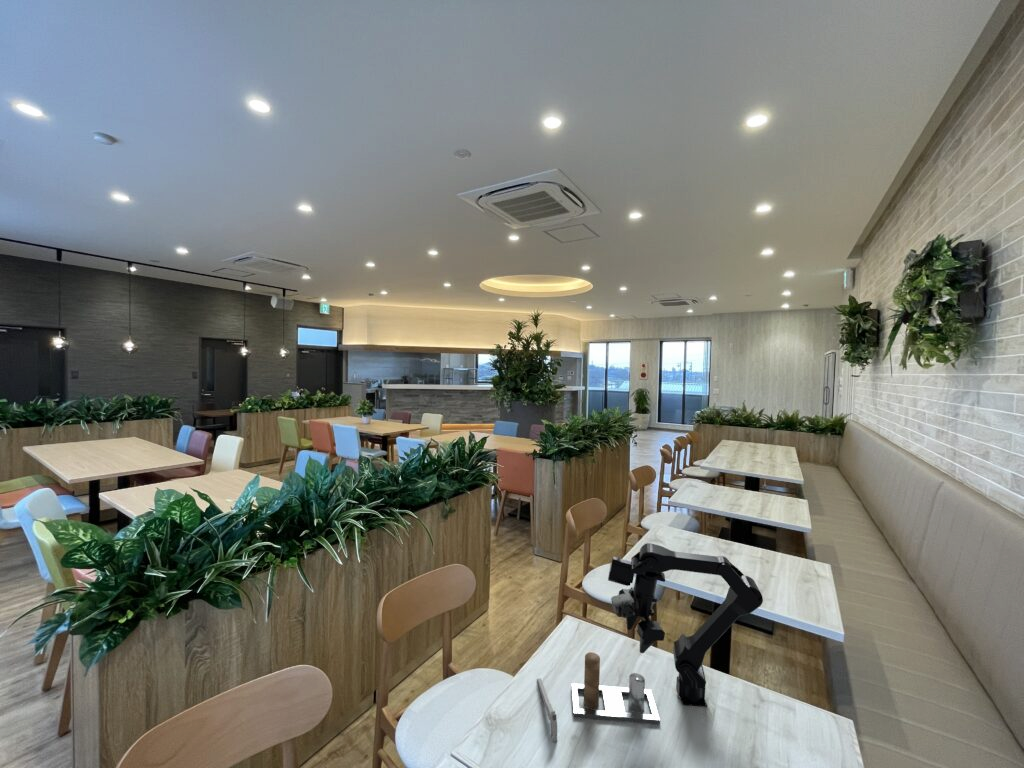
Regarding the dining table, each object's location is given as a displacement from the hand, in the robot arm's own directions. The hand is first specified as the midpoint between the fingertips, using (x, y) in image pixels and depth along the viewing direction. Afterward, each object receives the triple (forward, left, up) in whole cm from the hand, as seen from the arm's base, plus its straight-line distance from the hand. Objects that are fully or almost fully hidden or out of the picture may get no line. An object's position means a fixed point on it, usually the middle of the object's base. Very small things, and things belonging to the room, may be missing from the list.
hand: (635, 640), depth 121 cm
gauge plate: (+7, +8, -13) cm, 17 cm away
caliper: (+25, +11, -14) cm, 30 cm away
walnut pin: (+13, +8, -13) cm, 20 cm away
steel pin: (+1, +8, -13) cm, 15 cm away
